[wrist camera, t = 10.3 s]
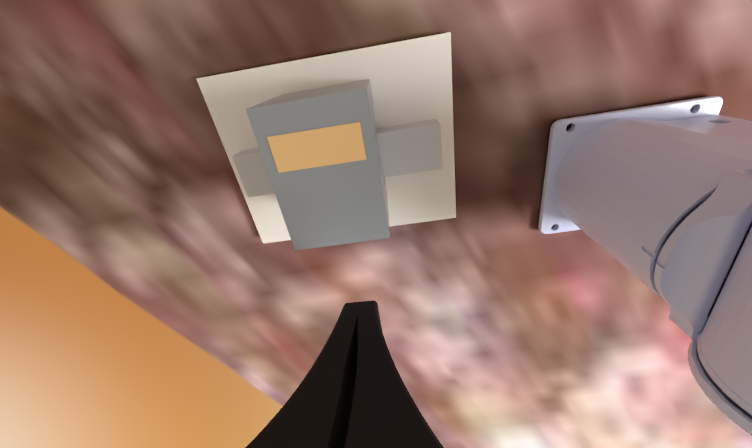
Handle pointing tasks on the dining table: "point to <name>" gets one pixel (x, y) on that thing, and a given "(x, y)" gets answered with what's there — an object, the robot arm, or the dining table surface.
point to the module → (324, 164)
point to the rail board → (392, 118)
